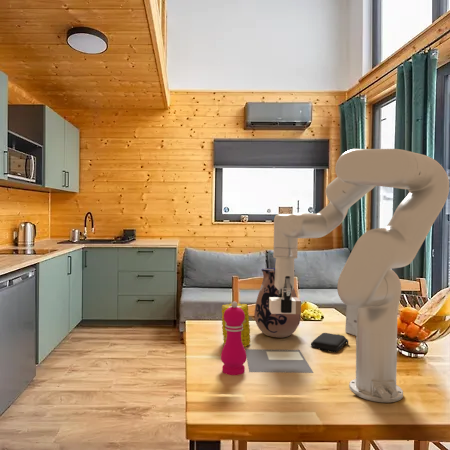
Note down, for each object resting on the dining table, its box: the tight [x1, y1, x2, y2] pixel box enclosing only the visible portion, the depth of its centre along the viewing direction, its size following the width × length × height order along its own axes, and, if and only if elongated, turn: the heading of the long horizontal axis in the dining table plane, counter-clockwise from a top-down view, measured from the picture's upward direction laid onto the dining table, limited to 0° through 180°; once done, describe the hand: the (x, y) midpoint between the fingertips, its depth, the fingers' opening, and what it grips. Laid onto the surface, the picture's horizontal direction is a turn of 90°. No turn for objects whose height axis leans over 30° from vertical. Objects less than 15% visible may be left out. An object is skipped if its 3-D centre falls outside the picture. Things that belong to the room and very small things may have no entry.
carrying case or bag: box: [310, 332, 349, 353], centre depth 135 cm, size 11×3×15 cm
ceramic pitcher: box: [253, 267, 302, 339], centre depth 149 cm, size 18×21×25 cm
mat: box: [244, 348, 314, 374], centre depth 118 cm, size 20×18×1 cm
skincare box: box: [345, 305, 359, 336], centre depth 150 cm, size 6×4×12 cm
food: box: [221, 303, 251, 348], centre depth 134 cm, size 15×12×10 cm
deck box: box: [269, 296, 302, 314], centre depth 122 cm, size 9×6×4 cm
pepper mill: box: [220, 301, 247, 376], centre depth 109 cm, size 7×7×20 cm
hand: (284, 309), depth 122 cm, fingers closed on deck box, 6 cm apart
